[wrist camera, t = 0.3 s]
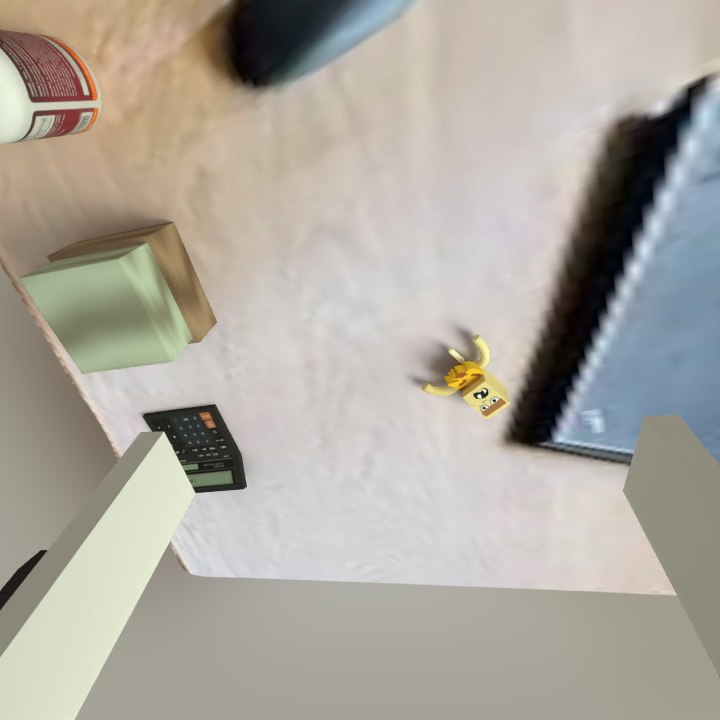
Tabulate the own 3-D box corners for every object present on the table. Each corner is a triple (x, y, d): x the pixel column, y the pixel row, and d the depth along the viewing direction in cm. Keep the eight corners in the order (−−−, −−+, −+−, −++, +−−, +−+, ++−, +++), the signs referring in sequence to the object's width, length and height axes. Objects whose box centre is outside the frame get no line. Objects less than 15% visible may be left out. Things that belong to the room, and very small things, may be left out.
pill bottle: (18, 23, 30) (-155, -5, 21) (103, 53, 31) (-29, 38, 22) (30, 118, 34) (-114, 130, 24) (107, 144, 34) (-6, 164, 25)
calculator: (216, 402, 48) (205, 419, 46) (252, 472, 54) (244, 491, 52) (146, 411, 50) (132, 428, 48) (188, 478, 56) (178, 496, 54)
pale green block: (78, 241, 39) (9, 273, 32) (173, 222, 37) (120, 251, 30) (130, 335, 44) (80, 378, 37) (216, 322, 42) (179, 366, 35)
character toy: (476, 340, 36) (533, 392, 39) (472, 323, 39) (525, 372, 41) (411, 392, 40) (466, 436, 42) (411, 373, 43) (463, 416, 45)
